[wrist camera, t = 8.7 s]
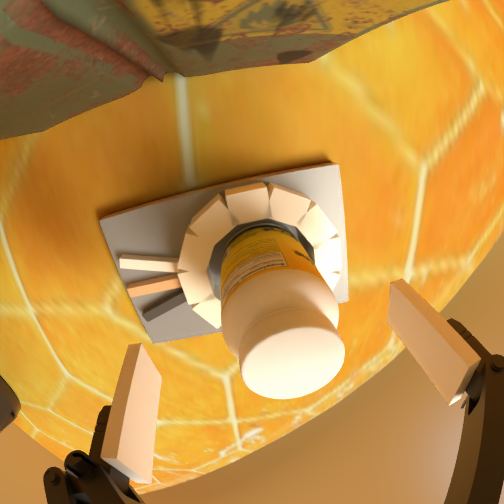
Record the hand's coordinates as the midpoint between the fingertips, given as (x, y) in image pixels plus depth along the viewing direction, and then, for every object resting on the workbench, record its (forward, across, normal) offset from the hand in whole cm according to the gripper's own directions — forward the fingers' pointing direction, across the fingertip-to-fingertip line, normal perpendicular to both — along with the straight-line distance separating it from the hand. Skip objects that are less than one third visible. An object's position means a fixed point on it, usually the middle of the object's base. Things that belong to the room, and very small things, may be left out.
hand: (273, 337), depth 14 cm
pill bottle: (+9, +1, 0) cm, 9 cm away
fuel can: (+10, -2, +31) cm, 32 cm away
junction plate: (+10, -1, 0) cm, 10 cm away
